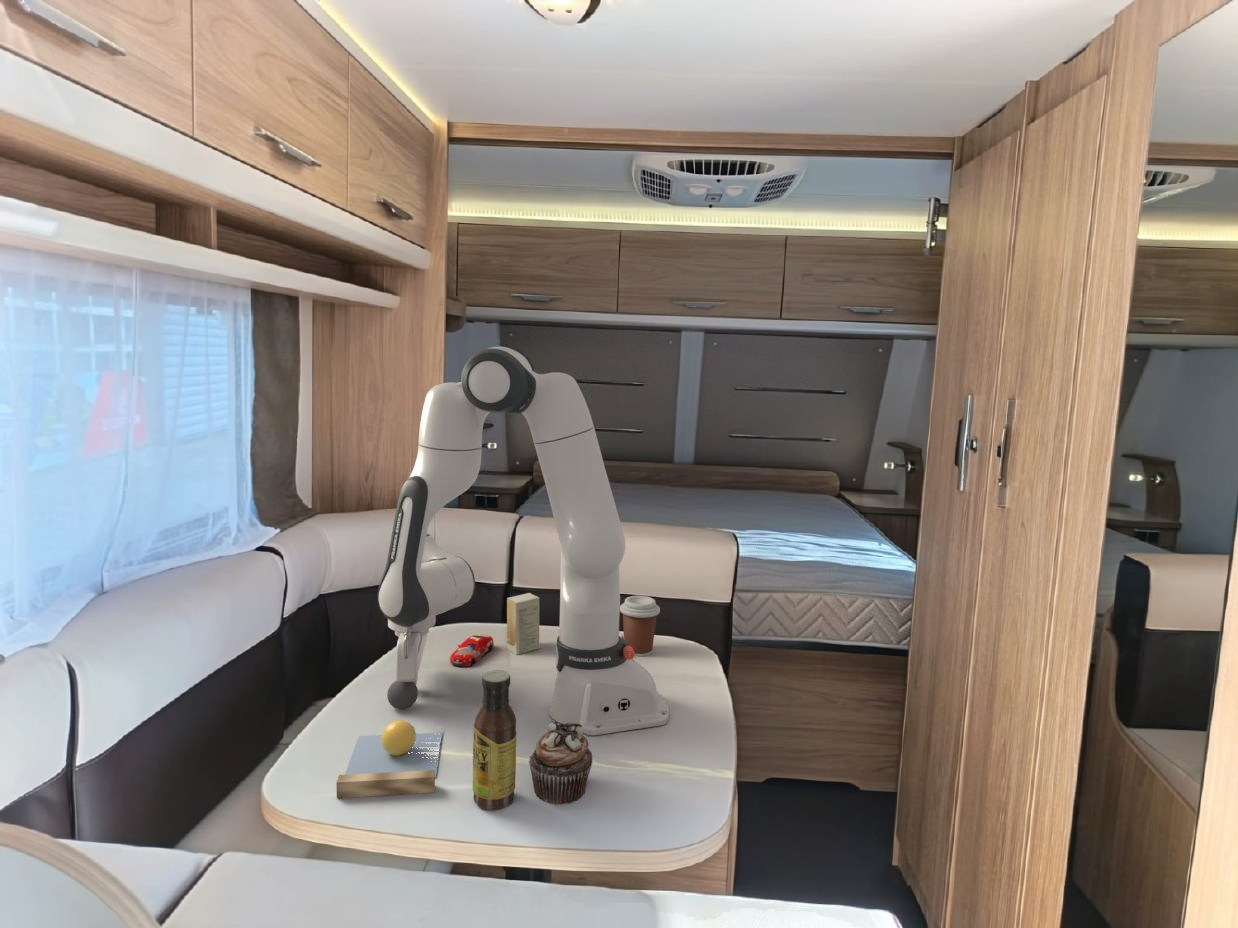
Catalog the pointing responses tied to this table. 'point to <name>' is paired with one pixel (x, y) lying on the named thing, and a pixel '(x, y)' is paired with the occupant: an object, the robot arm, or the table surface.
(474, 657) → the race car
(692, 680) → the table surface
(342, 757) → the table surface
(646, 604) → the coffee cup
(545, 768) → the cupcake
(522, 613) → the skincare box
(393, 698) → the grey sphere
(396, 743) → the ochre ball
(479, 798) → the sauce bottle
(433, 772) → the rail
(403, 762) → the board
